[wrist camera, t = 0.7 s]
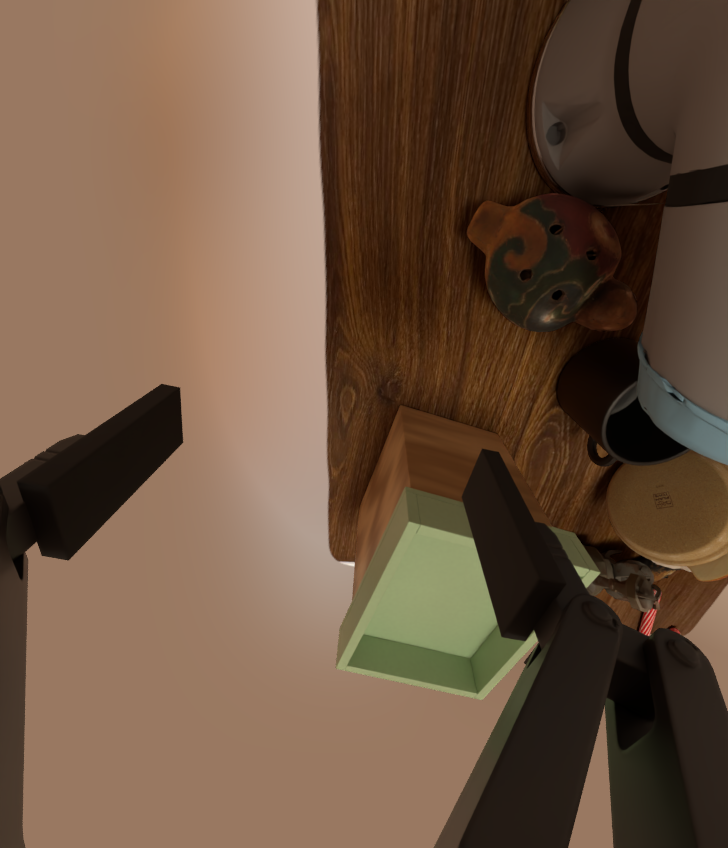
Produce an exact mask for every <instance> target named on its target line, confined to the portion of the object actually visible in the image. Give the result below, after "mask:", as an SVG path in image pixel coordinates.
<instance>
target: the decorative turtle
mask: <svg viewBox="0 0 728 848" xmlns="http://www.w3.org/2000/svg"><path fill="white" fill-rule="evenodd" d="M467 236H468V238H469V240H470V241H471V242H472V243H473V244H475V245H476V246H477V247H478V248H479V249H480V250H481V251H483V252H484V253H485V255H486V264H485V280H486V286H487V290H488V293H489V295H490V297H491V299H492V301H493V303H494V304H495V306H496V307H497V308H498V310H499V311H500V312H501V313H502V314H503V315H504V316H505V317H506V318H507V319H508V320H509V321H511V322H512V323H514V324H515V325H517V326H519V327H521V328H524V329H526V330H529V331H535V332H550V331H554V330H557V329H559V328H562V327H563V326H565V325H567V324H569V323H571V322H576V323H578V324H580V325H582V326H585V327H587V328H589V329H592V330H595V331H616V330H621V329H624V328H626V327H628V326H629V325H631V323H632V322H633V321H634V319H635V318H636V314H637V301H636V299H637V298H636V295H635V294H634V293H633V292H632V291H631V289H630V288H629V286H628V285H626V284H625V283H624V282H621V281H619V280H616V279H614V277H613V275H614V272H615V270H616V268H617V266H618V264H619V262H620V259H621V246H620V242H619V238H618V236H617V234H616V232H615V230H614V228H613V226H612V225H611V224H610V222H609V221H608V220H607V219H606V217H605V216H604V215H603V214H602V213H601V212H600V211H598V210H597V209H596V208H595V207H594V206H592V205H590V204H589V203H587V202H585V201H584V200H582V199H579V198H577V197H574V196H569V195H564V194H557V193H551V194H543V195H538V196H535V197H532V198H529V199H526V200H525V201H523V202H521V203H520V204H518V205H516V206H504V205H501V204H498V203H495V202H493V201H490V200H489V201H484V202H483V203H482V204H481V205H480V206H479V208H478V209H477V211H476V212H475V214H474V216H473V218H472V220H471V222H470V224H469V226H468V229H467Z"/></svg>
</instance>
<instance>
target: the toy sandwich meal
mask: <svg viewBox="0 0 728 848" xmlns="http://www.w3.org/2000/svg"><path fill="white" fill-rule="evenodd" d="M606 508H607V513H608V517H609V520H610V522H611V525H612V527H613V529H614V530H615V532H616V533H617V535H618V536H619V537H620V538H621V540H622V541H623V542H624V543H625V544H626V545H627V546H628V547H630V548H631V549H632V550H633V551H635V552H636V553H638V554H640V555H641V556H643V557H645V558H647V559H650V560H652V561H655V562H658V563H662V564H666V565H672V566H687V567H688V568H689V569H690V570H691V571H692V573H693V574H694V576H695V577H696V579H698V580H700V581H716V580H720V579H723V578H726V577H728V465H725V464H722V463H720V462H717V461H715V460H712V459H710V458H708V457H705V456H703V455H701V454H699V453H697V452H695V451H693V450H690V451H689V452H687V453H686V454H684V455H682V456H680V457H678V458H675V459H673V460H670V461H668V462H664V463H660V464H656V465H649V466H637V465H630V464H626V463H623V464H622V465H621V466H620V467H619V468H618V469H617V471H616V472H615V473H614V475H613V477H612V479H611V481H610V483H609V486H608V489H607V495H606Z"/></svg>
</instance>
